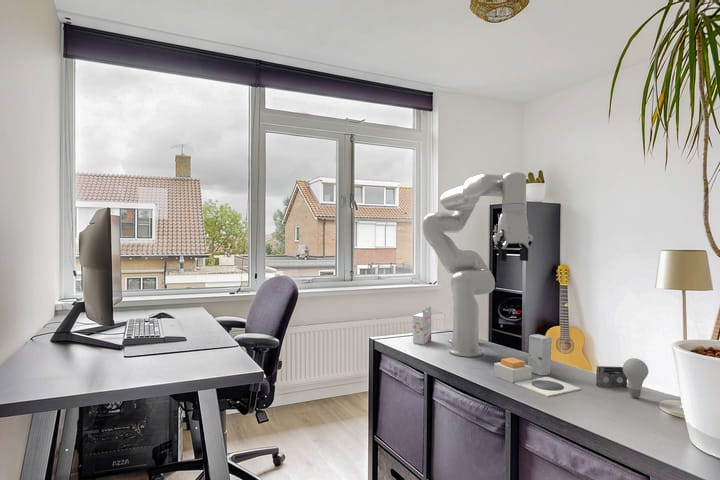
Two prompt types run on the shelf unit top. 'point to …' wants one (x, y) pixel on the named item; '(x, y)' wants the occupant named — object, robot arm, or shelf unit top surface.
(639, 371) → the lightbulb
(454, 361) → the shelf unit top surface
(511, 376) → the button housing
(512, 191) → the robot arm
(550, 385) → the white plate with oval
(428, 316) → the ink cartridge box
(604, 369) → the mini dv tape
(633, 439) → the shelf unit top surface
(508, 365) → the button
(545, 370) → the skincare box
